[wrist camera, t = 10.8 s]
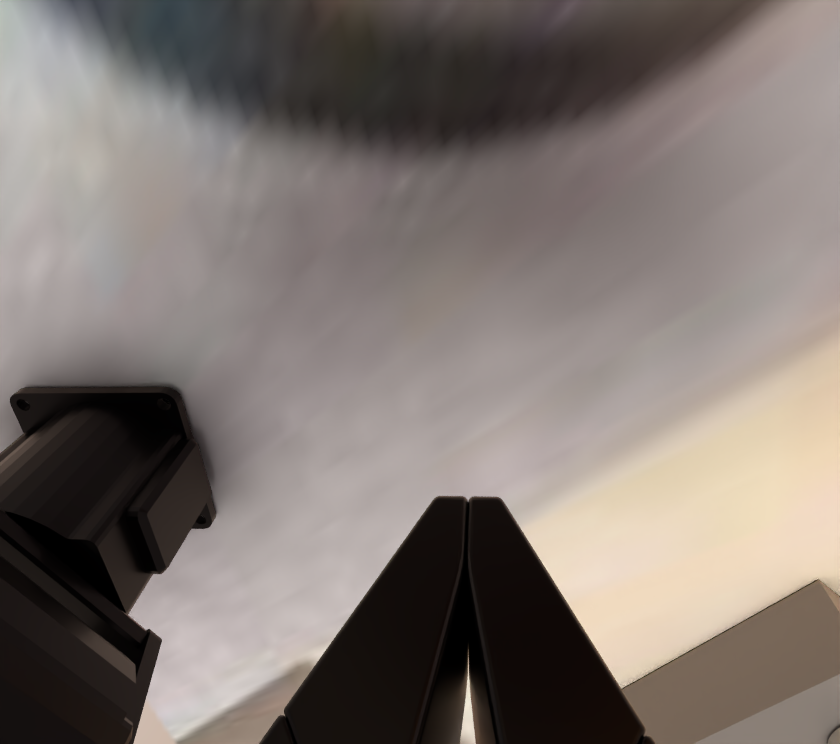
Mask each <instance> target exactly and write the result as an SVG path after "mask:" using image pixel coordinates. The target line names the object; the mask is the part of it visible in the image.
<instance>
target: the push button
mask: <svg viewBox="0 0 840 744" xmlns="http://www.w3.org/2000/svg"><path fill="white" fill-rule="evenodd" d="M828 744H840V728H838V729H837V730H836V731H834V732H833V733H832V735H831V736H830V737H829V739H828Z"/></svg>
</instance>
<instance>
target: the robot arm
mask: <svg viewBox="0 0 840 744" xmlns="http://www.w3.org/2000/svg"><path fill="white" fill-rule="evenodd" d="M162 398H163V399H166V400H168V401H169V402H170V404H171V405H170V404H167V403H165V402H164V401H163V399H162ZM26 401H27V402H28V403H29V404H28V403H27V402H26ZM10 403H11V406H12V408H13V411H14V413H15V415H16V417H17V419H18V422H19V424H20V426H21V428H22V430H23V432H24V434H23V435H22V436H20V437H19V438H18V439H17V440H16V441H15V442H13V443H12V444H11V445H10V446H9V447H7V448H6V449H5V450H4V451H3V452H2V453H0V744H133V743H134V739H135V735H136V732H137V728H138V725H139V721H140V717H141V714H142V710H143V707H144V703H145V699H146V696H147V692H148V689H149V685H150V681H151V678H152V674H153V671H154V667H155V664H156V660H157V656H158V653H159V649H160V646H161V642H162V639H161V638H160V637H158V636H157V635H156V634H155V633H154V632H152V631H151V630H150V629H148V630H145V629H144V628H143V627H142V626H140V625H139V624H138V623H137V622H136V621H134V620H133V619H132V618H131V617H130V616H128V614H129V612H130V610H131V609H132V607H133V606H134V604H135V602H136V601H137V599H138V597H139V596H140V594H141V593H142V591H143V589H144V588H145V586H146V584H147V583H148V581H149V580H150V578H151V576H152V575H153V574H162V573H163V572H164V571H165V570H166V569H167V568H168V567H169V565H170V563H171V562H172V560H173V558H174V557H175V555H176V553H177V552H178V550H179V548H180V547H181V545H182V543H183V542H184V540H185V538H186V537H187V535H188V533H189V531H190V530H191V529H205V528H208V527H210V526H211V524H212V522H213V521H214V519H215V517H216V512H215V509H214V506H213V502H212V499H211V494H212V491H211V487H210V484H209V481H208V477H207V474H206V470H205V467H204V463H203V460H202V457H201V453H200V450H199V446H198V444H197V443H196V441H195V440H194V438H193V435H192V431H191V428H190V424H189V421H188V418H187V414H186V411H185V407H184V404H183V401H182V398H181V396H180V394H179V393H178V392H177V391H176V390H174V389H172V388H169V387H83V388H23V389H20V390H19V391H18V392H16V393H15V394H14V395H12V396H11V398H10ZM200 515H202V516H203V517H202V516H200ZM468 650H469V680H470V692H471V702H472V712H473V721H474V730H475V739H476V744H656V743H655V741H654V740H653V738H652V737H651V736H649V735H647V736H645V735H646V728H645V726H644V724H643V723H642V721H641V720H640V718H639V716H638V715H637V713H636V712H635V710H634V708H633V707H632V705H631V704H630V702H629V700H628V699H627V697H626V696H625V694H624V692H623V691H622V689H621V688H620V686H619V685H618V683H617V681H616V680H615V678H614V677H613V675H612V673H611V672H610V670H609V669H608V667H607V665H606V664H605V662H604V661H603V659H602V657H601V656H600V654H599V653H598V651H597V649H596V648H595V646H594V645H593V643H592V642H591V640H590V638H589V637H588V635H587V634H586V632H585V630H584V629H583V627H582V626H581V624H580V622H579V621H578V619H577V618H576V616H575V614H574V613H573V611H572V610H571V608H570V606H569V605H568V603H567V602H566V600H565V599H564V597H563V595H562V594H561V592H560V591H559V589H558V587H557V586H556V584H555V583H554V581H553V579H552V578H551V576H550V575H549V573H548V571H547V570H546V568H545V567H544V565H543V564H542V562H541V560H540V559H539V557H538V556H537V554H536V552H535V551H534V549H533V548H532V546H531V544H530V543H529V541H528V540H527V538H526V536H525V535H524V533H523V532H522V530H521V528H520V527H519V525H518V524H517V522H516V521H515V519H514V517H513V516H512V514H511V513H510V511H509V509H508V508H507V506H506V505H505V503H504V502H503V500H502V499H501V498H499V497H477V496H474V497H471V498H470V499H469V501H468V500H467V499H466V498H465V497H463V496H438V497H436V498H434V500H433V501H432V502H431V504H430V505H429V506H428V508H427V509H426V511H425V512H424V513H423V515H422V516H421V518H420V519H419V520H418V522H417V523H416V525H415V526H414V527H413V529H412V530H411V532H410V533H409V534H408V536H407V537H406V539H405V540H404V541H403V543H402V544H401V546H400V547H399V548H398V550H397V551H396V553H395V554H394V555H393V557H392V558H391V560H390V561H389V562H388V564H387V565H386V567H385V568H384V570H383V571H382V572H381V574H380V575H379V577H378V578H377V579H376V581H375V582H374V584H373V585H372V586H371V588H370V589H369V591H368V592H367V593H366V595H365V596H364V598H363V599H362V600H361V602H360V603H359V605H358V606H357V607H356V609H355V610H354V612H353V613H352V614H351V616H350V617H349V619H348V620H347V621H346V623H345V624H344V626H343V627H342V628H341V630H340V631H339V633H338V634H337V635H336V637H335V638H334V640H333V641H332V642H331V644H330V645H329V647H328V648H327V649H326V651H325V652H324V654H323V655H322V656H321V658H320V659H319V661H318V662H317V663H316V665H315V666H314V668H313V669H312V671H311V672H310V673H309V675H308V676H307V678H306V679H305V680H304V682H303V683H302V685H301V686H300V687H299V689H298V690H297V692H296V693H295V694H294V696H293V697H292V699H291V700H290V701H289V703H288V704H287V706H286V707H285V709H284V714H285V716H283V715H280V716H278V718H277V719H276V720H275V722H274V723H273V725H272V726H271V727H270V729H269V730H268V732H267V733H266V735H265V736H264V737H263V739H262V740H261V742H260V743H259V744H460V736H461V729H462V721H463V713H464V705H465V697H466V687H467V677H468Z"/></svg>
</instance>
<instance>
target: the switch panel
mask: <svg viewBox="0 0 840 744" xmlns="http://www.w3.org/2000/svg"><path fill="white" fill-rule="evenodd" d="M622 691H623V692H624V694H625V696H626V697H627V699H628V700H629V702H630V704H631V705H632V707H633V708H634V710H635V712H636V713H637V715H638V716H639V718H640V720H641V721H642V723H643V724H644V726H645V728H646V735H645V736H647V735H649V736H651V737H652V738H653V740H654V741H655V743H656V744H828V739H829V737H830V736H831V735H832V733H833V732H834V731H836V730H837V729H838V728H840V597H839V596H838V595H837V594H836V593H834V592H833V591H832V590H831V589H829V588H828V587H827V586H826V585H824V584H823V583H822V582H821V581H820V580H817V581H815V582H814V583H812V584H810V585H808V586H806V587H805V588H803V589H801V590H799V591H797V592H796V593H794V594H792V595H790V596H789V597H787V598H785V599H783V600H781V601H780V602H778V603H776V604H774V605H772V606H771V607H769V608H767V609H765V610H763V611H762V612H760V613H758V614H756V615H754V616H753V617H751V618H749V619H747V620H746V621H744V622H742V623H740V624H738V625H737V626H735V627H733V628H731V629H729V630H728V631H726V632H724V633H722V634H720V635H719V636H717V637H715V638H713V639H711V640H710V641H708V642H706V643H704V644H703V645H701V646H699V647H697V648H695V649H694V650H692V651H690V652H688V653H686V654H685V655H683V656H681V657H679V658H677V659H676V660H674V661H672V662H670V663H668V664H667V665H665V666H663V667H661V668H660V669H658V670H656V671H654V672H652V673H651V674H649V675H647V676H645V677H643V678H642V679H640V680H638V681H636V682H634V683H633V684H631V685H629V686H627V687H625V688H624V689H622Z"/></svg>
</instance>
